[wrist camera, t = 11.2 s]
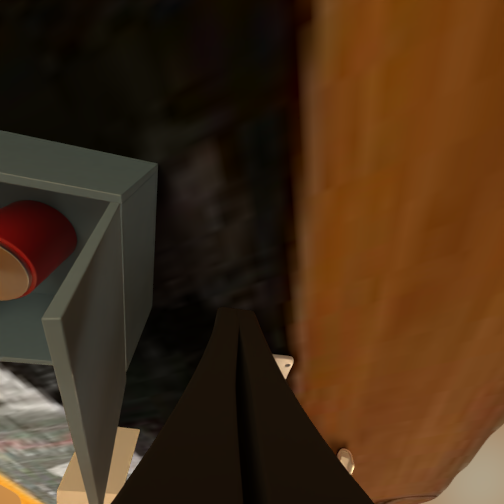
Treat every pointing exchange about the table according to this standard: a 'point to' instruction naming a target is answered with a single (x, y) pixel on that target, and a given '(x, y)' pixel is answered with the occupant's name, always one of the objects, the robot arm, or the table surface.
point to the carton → (78, 230)
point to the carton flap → (91, 350)
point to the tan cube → (72, 487)
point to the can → (31, 246)
